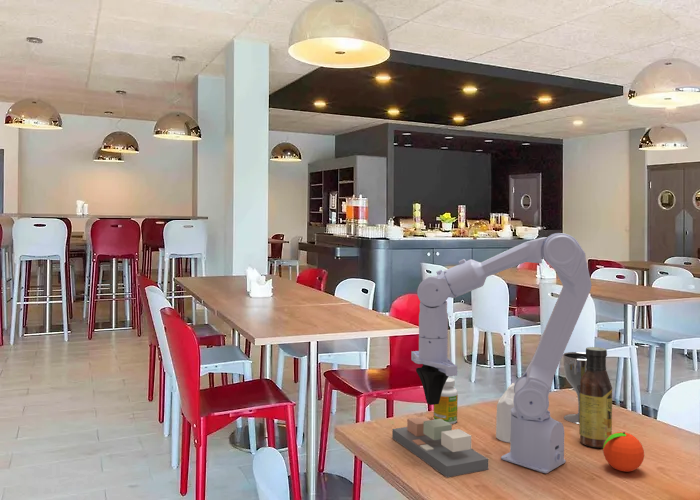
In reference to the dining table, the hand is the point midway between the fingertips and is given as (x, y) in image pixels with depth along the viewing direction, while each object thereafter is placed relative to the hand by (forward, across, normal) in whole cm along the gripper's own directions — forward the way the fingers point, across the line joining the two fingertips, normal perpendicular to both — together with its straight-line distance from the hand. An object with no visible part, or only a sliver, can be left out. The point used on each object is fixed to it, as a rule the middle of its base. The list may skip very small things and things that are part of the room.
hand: (432, 403), depth 118 cm
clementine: (+10, +22, +27) cm, 36 cm away
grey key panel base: (+9, +2, 0) cm, 10 cm away
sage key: (+6, +2, 0) cm, 6 cm away
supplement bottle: (+10, -14, +12) cm, 21 cm away
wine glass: (+10, -4, +42) cm, 43 cm away
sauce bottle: (+10, +10, +33) cm, 36 cm away
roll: (+10, 0, +19) cm, 21 cm away
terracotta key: (+7, -4, 0) cm, 8 cm away
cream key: (+6, +9, 0) cm, 10 cm away
